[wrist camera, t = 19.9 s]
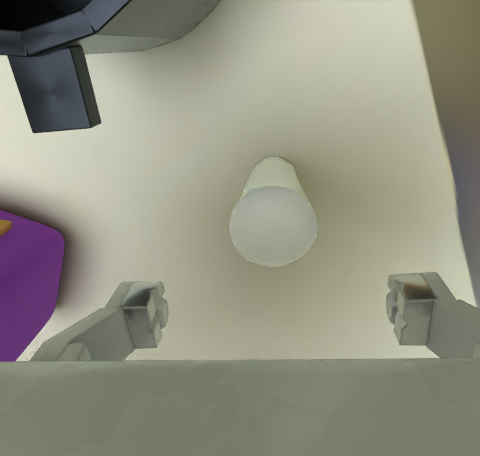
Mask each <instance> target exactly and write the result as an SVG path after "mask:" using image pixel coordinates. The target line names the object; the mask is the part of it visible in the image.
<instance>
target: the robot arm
mask: <svg viewBox="0 0 480 456" xmlns="http://www.w3.org/2000/svg"><path fill="white" fill-rule="evenodd" d="M388 286H389V289H390V292H389V293H388V294H387V298H386V307H387V314H388V318H389V320H390V322H391V323H393V324H394V333H395V335H396V337H397V340H398V342H399V345H427V347H428V348H429V349H430V350H431V351H433V352H434V353H435V354H436V355H437V356H439V357H440V358H418V359H287V360H150V361H123V360H124V359H125V358H126V357H127V356H128V355H129V354H130V353H132V352H133V351H134V349H140V348H157V347H158V344H159V342H160V339H161V337H162V331H161V329H162V328H164V327H165V326H166V323H167V320H168V304H167V301H166V300H165V299H164V298H163V297H162V296H163V294H164V291H165V290H164V287H163V283H162V282H122V283H120V284H119V286H118V288H117V289H116V291H115V292H114V294H113V295H112V297H111V299H110V300H109V302H108V303H107V305H106V307H105V308H101V309H99V310H97V311H95V312H94V313H92V314H90V315H89V316H87V317H85V318H84V319H82V320H80V321H79V322H77V323H75V324H74V325H72V326H70V327H69V328H67V329H65V330H64V331H62V332H60V333H58V334H57V335H55V336H53V337H52V338H50V339H48V340H47V341H45V342H44V343H43V344H42V345H41V347H40V348H39V349H38V350H37V352H36V353H35V354H34V356H33V357H32V358H31V360H30V361H15V362H0V456H480V309H478V308H476V307H474V306H472V305H470V304H468V303H466V302H464V301H462V300H456V299H455V297H454V296H453V295H452V293H451V292H450V290H449V289H448V287H447V286H446V285H445V283H444V282H443V280H442V279H441V277H440V276H439V275H438V273H436V272H426V273H412V274H392V275H389V278H388Z"/></svg>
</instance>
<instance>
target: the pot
mask: <svg viewBox="0 0 480 456" xmlns="http://www.w3.org/2000/svg"><path fill="white" fill-rule="evenodd" d="M218 2H219V0H0V55H7V56H8V59H9V62H10V65H11V68H12V71H13V74H14V77H15V80H16V83H17V86H18V89H19V92H20V95H21V98H22V102H23V105H24V108H25V111H26V114H27V117H28V120H29V123H30V126H31V129H32V132H33V133H42V132H53V131H64V130H76V129H87V128H92V127H94V126H96V125H99V124H101V119H100V115H99V111H98V107H97V103H96V99H95V95H94V91H93V87H92V83H91V79H90V75H89V71H88V67H87V63H86V59H85V55H84V54H95V53H113V52H131V51H143V50H146V49H149V48H152V47H156V46H160V45H163V44H166V43H168V42H171V41H174V40H177V39H179V38H181V37H182V36H183V35H185V34H186V33H187V32H189V31H190V30H191V29H193V28H194V27H196V26H197V25H198V24H199V23H200V22H201V21H202V20H203V19H204V18H205V17H206V16H207V15H208V14H209V13H210V12H211V11H212V10H213V9H214V8H215V6H216V4H217V3H218Z"/></svg>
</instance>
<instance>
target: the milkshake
mask: <svg viewBox="0 0 480 456" xmlns="http://www.w3.org/2000/svg"><path fill="white" fill-rule="evenodd" d="M229 231H230V235H231V238H232V241H233V243H234V245H235V247H236V249H237V250H238V252H239V253H240V254H241V255H242V256H243V257H244V258H245V259H247V260H248V261H250V262H252V263H255V264H259V265H264V266H269V267H279V266H283V265H287V264H290V263H292V262H295V261H297V260H298V259H300V258H301V257H303V256H304V255H305V254H306V253H307V252H308V251H309V249H310V248H311V247H312V245H313V244H314V242H315V240H316V237H317V233H318V223H317V218H316V215H315V212H314V210H313V208H312V206H311V204H310V202H309V200H308V198H307V196H306V194H305V192H304V191H303V189H302V187H301V185H300V182H299V180H298V177H297V175H296V172H295V170H294V167H293V165H292V164H291V163H289V162H287V161H286V160H284V159H282V158H281V157H271V158H264V159H263V160H262V161H261V162H260V163H258V164H257V165H256V166H255V167H254V168H253V170H252V172H251V175H250V177H249V179H248V181H247V184H246V186H245V188H244V190H243V191H242V194H241V196H240V198H239V200H238V202H237V203H236V205H235V207H234V209H233V211H232V214H231V217H230V222H229Z"/></svg>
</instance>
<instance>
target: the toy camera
mask: <svg viewBox="0 0 480 456" xmlns="http://www.w3.org/2000/svg"><path fill="white" fill-rule="evenodd" d="M63 255H64V239H63V236H62V234H61V233H60V232H58V231H57V230H55V229H53V228H51V227H48V226H46V225H43V224H41V223H38V222H35V221H32V220H29V219H26V218H23V217H20V216H17V215H14V214H12V213H9V212H6V211H3V210H0V362H15V361H16V360H17V359H18V357H19V356H20V355H21V354H22V352H23V351H24V350H25V349H26V348H27V346H28V345H29V344H30V343H31V342H32V340H33V339H34V338H35V337H36V335H37V334H38V333H39V332H40V331H41V329H42V328H43V327H44V326H45V324H46V323H47V322H48V320H49V319H50V317H51V316H52V314H53V312H54V309H55V305H56V301H57V295H58V289H59V282H60V276H61V269H62V263H63Z"/></svg>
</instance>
